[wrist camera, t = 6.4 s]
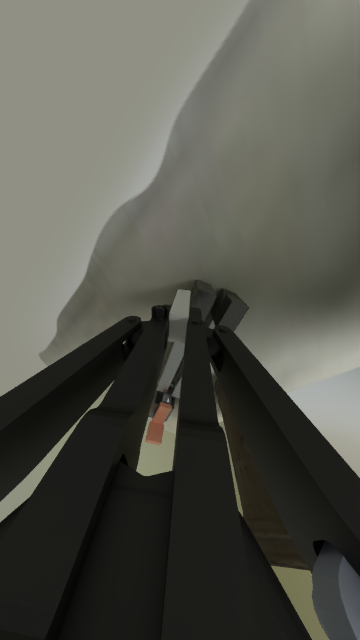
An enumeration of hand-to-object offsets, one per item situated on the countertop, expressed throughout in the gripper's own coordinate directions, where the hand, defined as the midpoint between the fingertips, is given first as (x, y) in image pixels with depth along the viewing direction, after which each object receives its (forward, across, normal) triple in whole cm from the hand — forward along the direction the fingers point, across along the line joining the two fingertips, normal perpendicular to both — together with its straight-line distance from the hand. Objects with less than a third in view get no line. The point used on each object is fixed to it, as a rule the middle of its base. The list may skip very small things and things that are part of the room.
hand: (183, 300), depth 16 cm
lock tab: (0, -2, -27) cm, 27 cm away
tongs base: (+5, +1, -15) cm, 16 cm away
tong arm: (+4, 0, -10) cm, 11 cm away
